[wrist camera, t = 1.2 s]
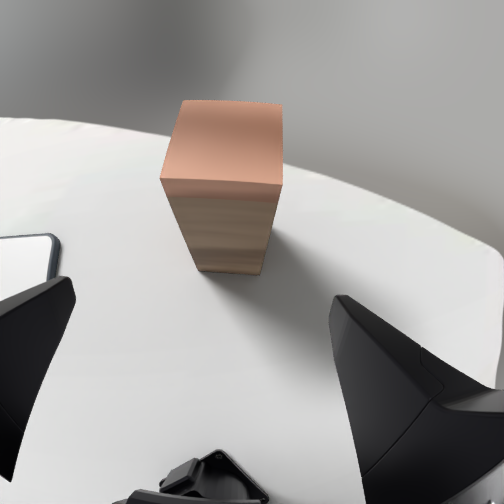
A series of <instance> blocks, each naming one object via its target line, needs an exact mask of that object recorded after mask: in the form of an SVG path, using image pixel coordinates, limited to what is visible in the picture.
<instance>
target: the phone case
mask: <svg viewBox="0 0 504 504" xmlns="http://www.w3.org/2000/svg"><path fill="white" fill-rule="evenodd" d="M59 250H60V241H59V239H58V238H57V237H56V236H55V235H53V234H51V233H46V234H32V235H19V236H7V237H0V301H1V300H4V299H6V298H8V297H11V296H13V295H15V294H18V293H20V292H22V291H25V290H27V289H29V288H32V287H34V286H36V285H39V284H41V283H44V282H46V281H49V280H51V279H53V278H55V276H56V269H57V262H58V256H59Z"/></svg>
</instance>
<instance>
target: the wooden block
mask: <svg viewBox="0 0 504 504" xmlns="http://www.w3.org/2000/svg"><path fill="white" fill-rule="evenodd" d="M282 139H283V138H282V105H280V104H270V103H258V102H257V103H256V102H241V101H217V100H216V101H215V100H184V101H183V103H182V106H181V109H180V112H179V115H178V118H177V121H176V124H175V127H174V130H173V133H172V136H171V140H170V143H169V146H168V150H167V153H166V156H165V160H164V164H163V167H162V171H161V175H160V180H161V183H162V186H163V188H164V191H165V193H166V196H167V198H168V201H169V203H170V206H171V208H172V211H173V213H174V216H175V218H176V220H177V223H178V225H179V228H180V230H181V232H182V235H183V237H184V240H185V242H186V244H187V247H188V249H189V251H190V254H191V256H192V258H193V260H194V263H195V265H196V267H197V269H198V271H207V272H220V273H234V274H248V275H260V272H261V268H262V264H263V260H264V256H265V252H266V248H267V244H268V241H269V237H270V233H271V229H272V225H273V221H274V217H275V213H276V209H277V205H278V201H279V197H280V193H281V189H282V185H283V141H282Z"/></svg>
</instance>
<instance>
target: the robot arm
mask: <svg viewBox="0 0 504 504" xmlns="http://www.w3.org/2000/svg"><path fill="white" fill-rule="evenodd" d="M75 303H76V296H75V292H74V288H73V285H72V281H71V279H70V278H69V277H66V276H58V277H56V278H53V279H51V280H49V281H46V282H44V283H41V284H39V285H36V286H34V287H32V288H29V289H27V290H25V291H22V292H20V293H18V294H15V295H13V296H11V297H8V298H6V299H4V300H1V301H0V476H1V477H3V478H4V479H6V480H7V481H9V482H11V481H12V478H13V473H14V469H15V465H16V461H17V457H18V453H19V450H20V446H21V442H22V439H23V436H24V432H25V429H26V426H27V423H28V420H29V417H30V414H31V411H32V408H33V405H34V403H35V400H36V397H37V395H38V392H39V389H40V387H41V384H42V382H43V379H44V377H45V375H46V372H47V370H48V368H49V365H50V363H51V361H52V358H53V356H54V354H55V352H56V350H57V347H58V345H59V343H60V341H61V339H62V337H63V334H64V331H65V329H66V326H67V323H68V321H69V318H70V316H71V313H72V311H73V308H74V306H75ZM329 327H330V333H331V340H332V347H333V355H334V361H335V365H336V369H337V373H338V377H339V381H340V385H341V389H342V393H343V397H344V401H345V405H346V409H347V413H348V418H349V422H350V426H351V431H352V435H353V440H354V444H355V449H356V453H357V458H358V463H359V468H360V473H361V477H362V484H363V489H364V495H365V500H366V504H504V390H496V389H491V388H489V387H486V386H484V385H482V384H481V383H479V382H477V381H476V380H474V379H472V378H470V377H469V376H467V375H465V374H464V373H462V372H460V371H459V370H457V369H455V368H454V367H452V366H450V365H449V364H447V363H446V362H444V361H442V360H441V359H439V358H438V357H436V356H435V355H433V354H432V353H430V352H429V351H428V350H426V349H425V348H423V347H421V346H420V345H419V344H418V343H416V342H415V341H413V340H412V339H410V338H409V337H408V336H406V335H405V334H403V333H402V332H400V331H399V330H398V329H396V328H395V327H393V326H392V325H390V324H389V323H387V322H386V321H384V320H383V319H382V318H380V317H379V316H377V315H376V314H374V313H373V312H371V311H370V310H368V309H367V308H365V307H364V306H363V305H361V304H360V303H358V302H357V301H355V300H354V299H352V298H351V297H349V296H348V295H336V296H335V297H334V299H333V303H332V307H331V311H330V315H329ZM216 454H221V455H222V457H220V458H218V457H216ZM159 486H160V490H159V493H158V492H153V491H147V490H142V489H139V490H135V491H134V492H133V493H132V494H131V495H130V496H129V498H128V499H124V500H121V501H117V502H114V503H112V504H266V503H268V501H269V497H268V495H267V494H266V493H265V492H264V491H262V490H261V489H260V488H259V487H258V486H257V485H256V484H255V483H254V482H253V481H252V480H251V479H250V478H249V477H248V476H247V475H246V474H245V473H244V472H243V471H242V470H241V469H240V468H239V467H238V466H237V465H236V464H235V463H234V462H233V461H232V460H231V459H230V458H229V457H228V456H227V454H226V453H225V452H224V451H222V450H215V451H213V452H211V453H210V454H208V455H206V456H205V457H203V458H201V459H200V460H199V459H198V458H193V459H191V460H190V461H188V462H186V463H184V464H182V465H181V466H179V467H177V468H175V469H173V470H171V472H170V473H169V475H168V476H167V477H166V478H164V479H162V480H161V481H160V483H159ZM260 498H265V500H260Z"/></svg>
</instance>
